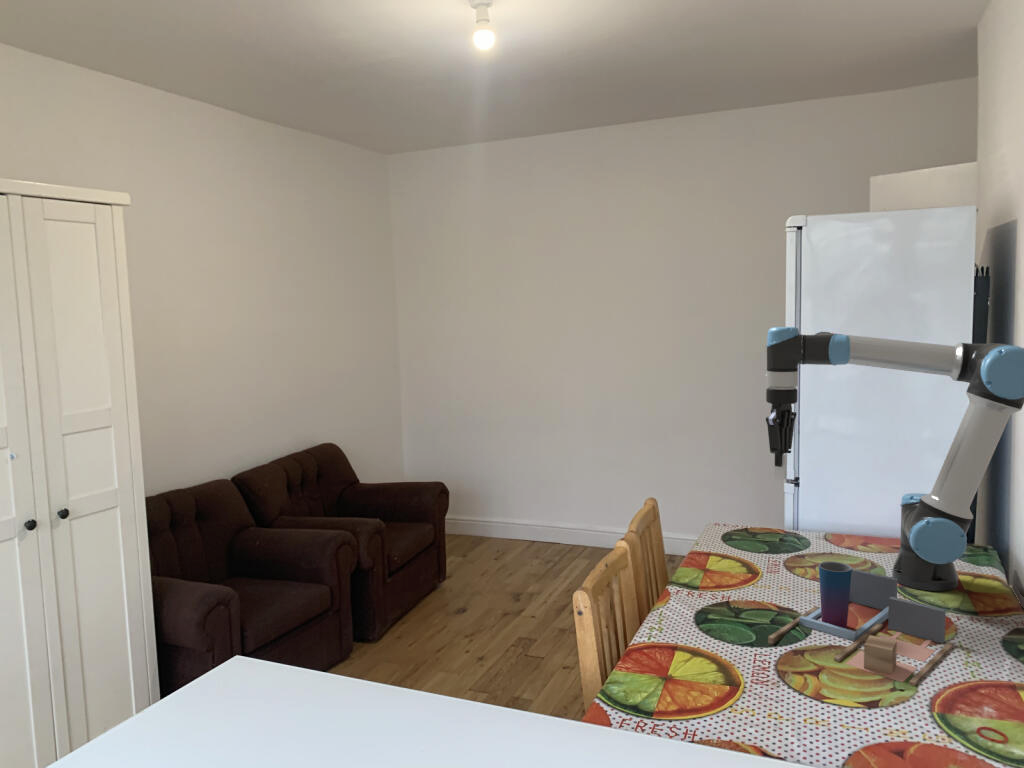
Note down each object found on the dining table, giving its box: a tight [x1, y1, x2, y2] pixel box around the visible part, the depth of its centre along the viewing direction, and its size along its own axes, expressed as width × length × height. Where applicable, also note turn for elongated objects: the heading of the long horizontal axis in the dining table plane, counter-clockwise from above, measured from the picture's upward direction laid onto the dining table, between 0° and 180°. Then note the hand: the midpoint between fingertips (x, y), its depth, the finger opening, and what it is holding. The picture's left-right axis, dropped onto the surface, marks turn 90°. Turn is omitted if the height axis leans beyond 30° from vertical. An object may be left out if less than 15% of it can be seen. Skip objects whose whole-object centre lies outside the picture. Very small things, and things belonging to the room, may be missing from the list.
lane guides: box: [767, 606, 955, 687], centre depth 163 cm, size 23×30×2 cm
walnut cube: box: [863, 635, 898, 675], centre depth 152 cm, size 5×5×5 cm
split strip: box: [844, 597, 947, 683], centre depth 158 cm, size 24×11×8 cm, turn 134°
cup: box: [818, 560, 853, 629], centre depth 170 cm, size 7×7×15 cm
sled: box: [798, 568, 898, 642], centre depth 176 cm, size 24×12×8 cm, turn 134°
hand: (780, 478), depth 197 cm, fingers closed
